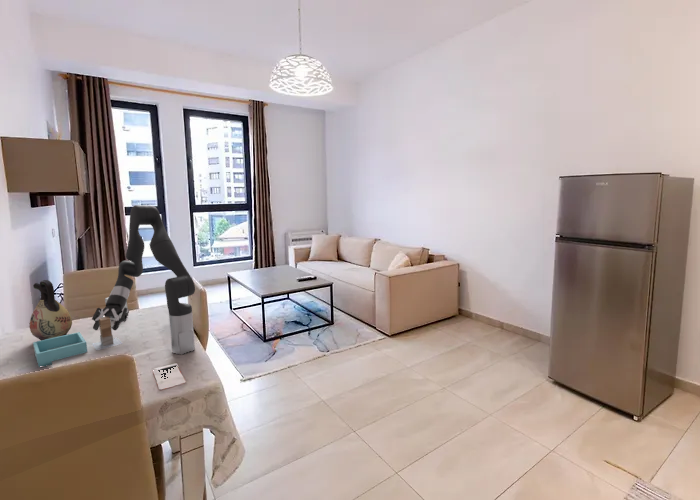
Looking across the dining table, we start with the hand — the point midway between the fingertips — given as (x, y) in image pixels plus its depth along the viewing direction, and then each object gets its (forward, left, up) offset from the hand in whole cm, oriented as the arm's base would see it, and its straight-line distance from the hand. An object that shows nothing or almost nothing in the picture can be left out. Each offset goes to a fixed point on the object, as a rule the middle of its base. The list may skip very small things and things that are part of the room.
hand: (104, 329), depth 158 cm
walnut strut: (0, 0, -7) cm, 7 cm away
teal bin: (+4, +16, -8) cm, 18 cm away
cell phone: (-48, -10, -9) cm, 50 cm away
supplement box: (+40, -13, -9) cm, 44 cm away
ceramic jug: (+27, +16, -9) cm, 33 cm away
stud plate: (0, 0, -8) cm, 8 cm away
